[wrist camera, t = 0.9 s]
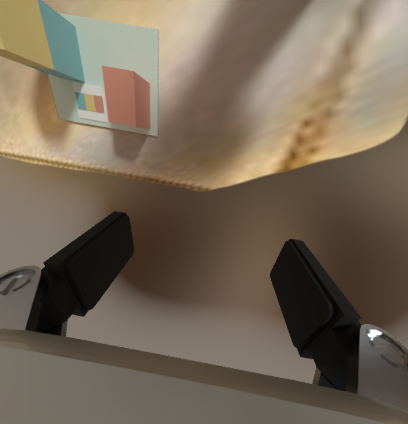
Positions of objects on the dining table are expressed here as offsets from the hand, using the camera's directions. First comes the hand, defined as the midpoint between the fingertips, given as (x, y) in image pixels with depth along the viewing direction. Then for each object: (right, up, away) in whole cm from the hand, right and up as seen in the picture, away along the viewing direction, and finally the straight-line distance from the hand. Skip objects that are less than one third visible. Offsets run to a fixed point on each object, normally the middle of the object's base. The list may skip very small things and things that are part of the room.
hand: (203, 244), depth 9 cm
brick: (-13, +23, +21) cm, 34 cm away
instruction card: (-23, +24, +21) cm, 40 cm away
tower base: (-25, +31, +18) cm, 44 cm away
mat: (-20, +28, +20) cm, 39 cm away
